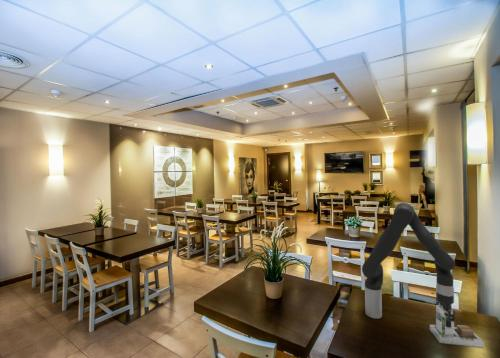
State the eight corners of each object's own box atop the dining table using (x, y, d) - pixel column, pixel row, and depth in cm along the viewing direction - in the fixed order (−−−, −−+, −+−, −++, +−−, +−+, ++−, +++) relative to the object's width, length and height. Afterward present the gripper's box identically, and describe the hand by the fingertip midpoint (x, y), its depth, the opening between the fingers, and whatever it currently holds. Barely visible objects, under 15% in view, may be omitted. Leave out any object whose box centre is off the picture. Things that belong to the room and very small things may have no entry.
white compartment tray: (429, 329, 140) (429, 324, 140) (469, 333, 136) (469, 328, 136) (439, 342, 130) (439, 337, 130) (483, 347, 125) (483, 341, 125)
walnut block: (456, 335, 135) (456, 324, 135) (467, 336, 134) (467, 325, 134) (462, 342, 130) (462, 330, 130) (473, 343, 129) (473, 331, 129)
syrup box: (435, 331, 137) (435, 304, 137) (446, 331, 137) (446, 304, 136) (443, 338, 131) (443, 310, 131) (454, 338, 131) (454, 310, 131)
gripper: (430, 285, 141) (430, 315, 142) (443, 298, 127) (444, 330, 128) (445, 286, 140) (445, 316, 140) (461, 299, 126) (461, 332, 126)
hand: (444, 323), depth 134 cm, fingers closed on syrup box, 6 cm apart
